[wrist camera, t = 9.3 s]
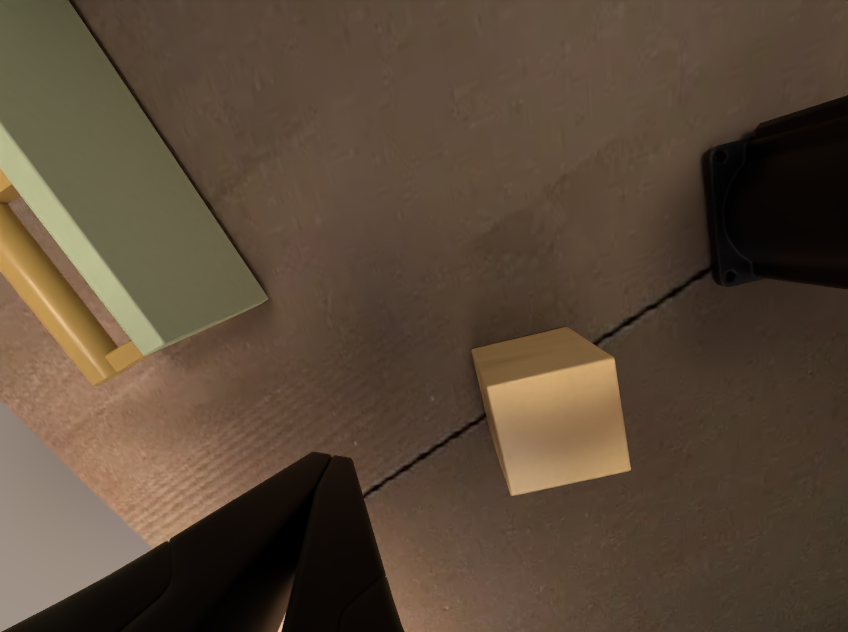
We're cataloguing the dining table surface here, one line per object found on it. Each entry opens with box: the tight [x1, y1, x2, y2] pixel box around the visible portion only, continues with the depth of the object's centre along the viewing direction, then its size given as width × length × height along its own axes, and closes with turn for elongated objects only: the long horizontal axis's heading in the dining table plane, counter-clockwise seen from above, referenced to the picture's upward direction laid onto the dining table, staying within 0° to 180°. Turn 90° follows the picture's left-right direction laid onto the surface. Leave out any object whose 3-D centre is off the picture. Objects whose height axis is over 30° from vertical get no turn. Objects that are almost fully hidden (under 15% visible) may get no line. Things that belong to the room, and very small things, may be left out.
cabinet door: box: [0, 0, 268, 386], centre depth 14 cm, size 6×16×8 cm, turn 30°
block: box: [471, 327, 631, 496], centre depth 18 cm, size 5×5×5 cm
